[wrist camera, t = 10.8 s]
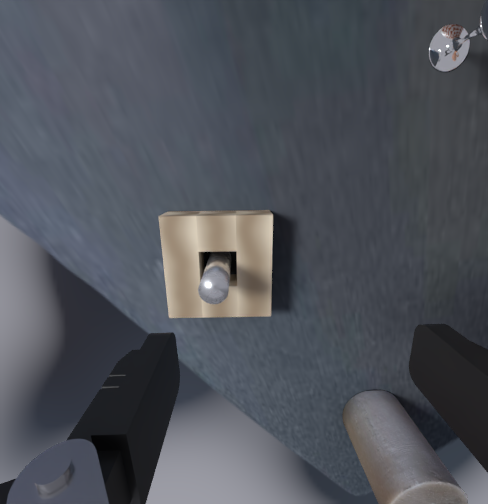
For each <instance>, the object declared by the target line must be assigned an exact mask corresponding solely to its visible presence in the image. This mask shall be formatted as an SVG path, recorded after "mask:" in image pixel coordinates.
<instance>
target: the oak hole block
mask: <svg viewBox="0 0 488 504" xmlns="http://www.w3.org/2000/svg"><path fill="white" fill-rule="evenodd" d="M159 225H160V235H161V244H162V254H163V263H164V273H165V282H166V292H167V302H168V311H169V318H199V317H256V316H271V292H272V244H273V214H272V213H271V212H270V210H246V211H169V212H166V213H164V214H162V215H160V216H159ZM221 251H237V274H230V282H229V292H228V296H227V298H226V299H225V300H224V301H223V302H221V303H219V304H209V303H206V302H205V301H203V300H202V299H201V297H200V296H199V293H198V288H199V284H200V282H201V279H202V276H203V273H204V253H203V252H221Z"/></svg>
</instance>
